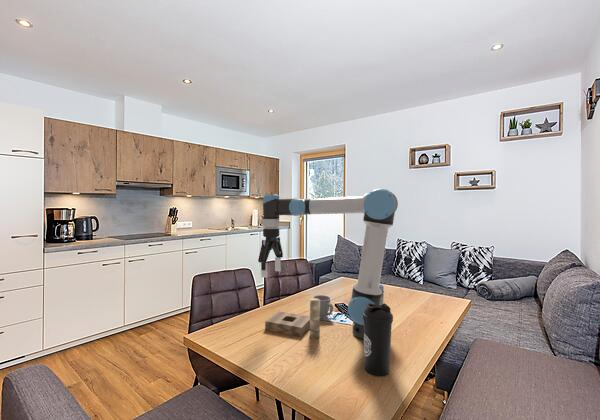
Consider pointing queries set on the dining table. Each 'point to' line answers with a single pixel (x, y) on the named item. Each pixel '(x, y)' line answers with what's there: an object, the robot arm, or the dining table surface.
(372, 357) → the water bottle
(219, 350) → the dining table surface
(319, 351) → the dining table surface
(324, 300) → the mug
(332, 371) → the dining table surface
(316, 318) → the peg
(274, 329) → the board
